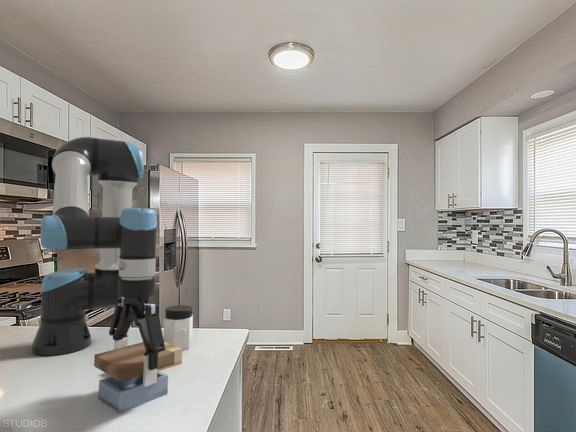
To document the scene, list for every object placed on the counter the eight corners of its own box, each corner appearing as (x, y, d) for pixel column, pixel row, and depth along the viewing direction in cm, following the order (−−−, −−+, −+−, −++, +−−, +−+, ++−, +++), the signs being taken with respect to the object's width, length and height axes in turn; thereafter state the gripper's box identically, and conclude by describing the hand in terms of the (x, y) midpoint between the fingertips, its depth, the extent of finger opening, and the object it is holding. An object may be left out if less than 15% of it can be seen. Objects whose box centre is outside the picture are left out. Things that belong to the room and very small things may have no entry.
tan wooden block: (116, 371, 91) (117, 355, 91) (165, 356, 102) (165, 342, 102) (132, 380, 86) (133, 363, 86) (181, 363, 97) (182, 348, 97)
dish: (98, 399, 76) (99, 380, 77) (146, 382, 85) (146, 365, 85) (118, 413, 71) (119, 393, 71) (167, 393, 80) (168, 375, 80)
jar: (166, 353, 104) (167, 312, 104) (159, 345, 111) (160, 307, 111) (196, 348, 109) (197, 309, 109) (188, 340, 116) (189, 304, 116)
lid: (94, 366, 77) (94, 354, 77) (145, 351, 87) (145, 341, 87) (121, 381, 70) (121, 369, 70) (174, 364, 79) (174, 352, 79)
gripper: (95, 273, 83) (92, 366, 83) (151, 285, 68) (148, 399, 68) (126, 271, 89) (123, 357, 89) (184, 281, 74) (181, 386, 74)
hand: (134, 375), depth 78 cm, fingers closed on lid, 12 cm apart
